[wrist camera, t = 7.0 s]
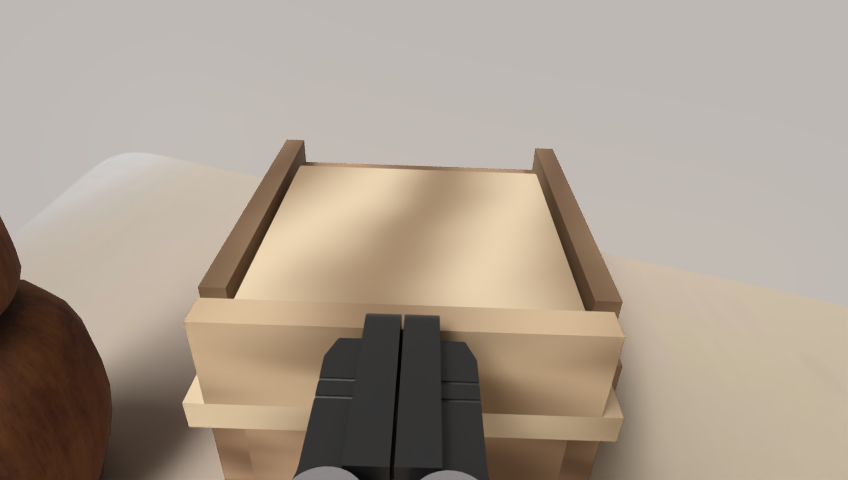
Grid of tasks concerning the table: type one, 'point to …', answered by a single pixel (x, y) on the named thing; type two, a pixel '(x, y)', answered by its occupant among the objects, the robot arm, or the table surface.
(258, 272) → the lid
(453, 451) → the robot arm
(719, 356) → the table surface
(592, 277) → the light wooden box
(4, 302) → the wooden figurine
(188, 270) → the table surface
